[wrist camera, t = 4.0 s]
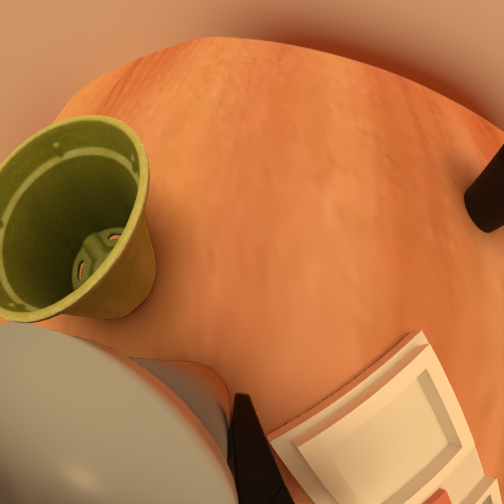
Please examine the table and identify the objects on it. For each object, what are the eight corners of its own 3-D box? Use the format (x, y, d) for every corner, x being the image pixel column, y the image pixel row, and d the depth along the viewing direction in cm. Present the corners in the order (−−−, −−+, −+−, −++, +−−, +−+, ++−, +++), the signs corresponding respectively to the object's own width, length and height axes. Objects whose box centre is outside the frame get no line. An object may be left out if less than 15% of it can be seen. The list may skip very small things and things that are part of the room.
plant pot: (68, 209, 18) (8, 133, 10) (188, 203, 19) (165, 100, 11) (48, 337, 14) (-48, 307, 6) (182, 349, 15) (130, 335, 7)
